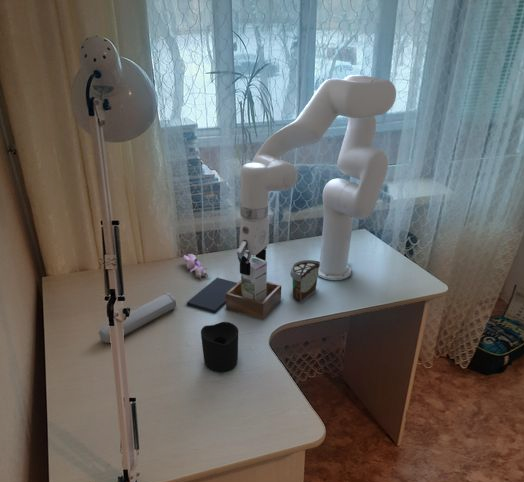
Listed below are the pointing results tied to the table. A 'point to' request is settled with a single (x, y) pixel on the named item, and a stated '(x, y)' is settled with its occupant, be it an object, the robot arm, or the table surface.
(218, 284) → the mat
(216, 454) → the table surface
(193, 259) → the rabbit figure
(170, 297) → the tube
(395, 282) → the table surface
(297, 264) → the food container
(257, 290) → the syrup box
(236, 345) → the pen holder
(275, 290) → the open box
